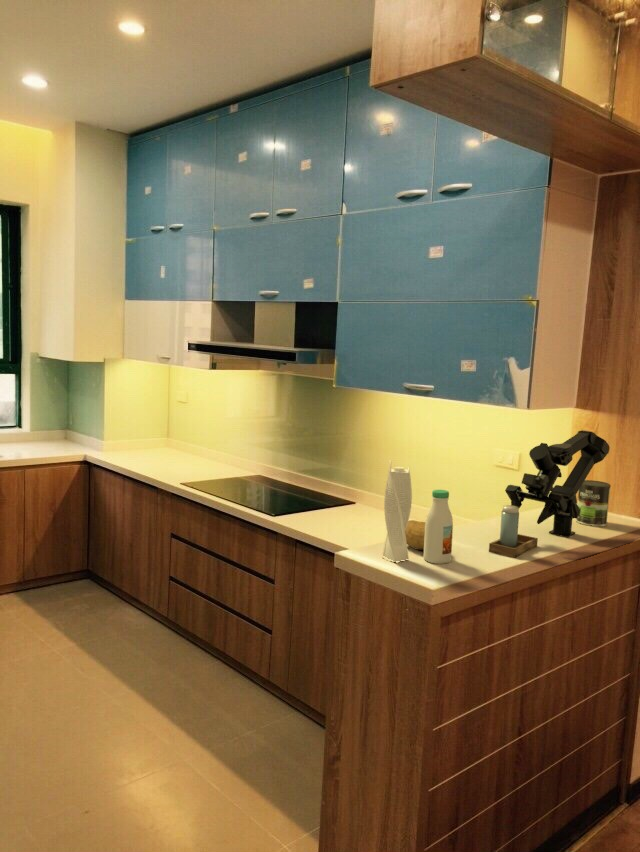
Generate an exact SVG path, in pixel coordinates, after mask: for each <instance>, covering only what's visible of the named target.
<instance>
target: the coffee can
mask: <svg viewBox="0 0 640 852" xmlns="http://www.w3.org/2000/svg"><path fill="white" fill-rule="evenodd" d="M611 487H612V486H611V484H610V483H608V482H604V481H599V480H589V479H587V480H586V479H585V480H584V482H583V484H582V485H581V487H580V489H579V490H578V492H577V494H578V496H577V505H578V507H579V509H580V513H579V517H578V518H575V522H576V521H577V522H576V523H578V524H580V523H581V524H580V525H583V524H585V525H584V526H588V525H592V526H591V527H605V526H607V525H608V515H609V513H608V512H609V503H610V494H611V493H610V492H611V491H610V490H611Z"/></svg>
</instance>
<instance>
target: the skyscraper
mask: <svg viewBox="0 0 640 852" xmlns="http://www.w3.org/2000/svg"><path fill="white" fill-rule="evenodd" d="M388 462H389V463H388V465H389V466H388V467H389V468H388V473H387V478H386V482H385V489H384V503H383V504H384V510H383V511H384V521H385V526H386V536H385V540H384V541H385V542H384V546H383V551H382V555H383V556H385V557H387V558H388V559H391V560H393V561H394V562H396V561H401V560H406V559H409V551H408V545H407V542H406V535H405V530H406V527H407V524H408V521H410V515H411V512H412V511H411V509H412V504H413V503H412V500H413V491H412V490H413V489H412V479H411V478H412V477H411V468H410V467H409V466H408V467H407V469H406V468H405V467H404V466H394V467H393V468H392V460H391V459H390V460H389V461H388ZM409 560H410V559H409Z"/></svg>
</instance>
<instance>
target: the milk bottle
mask: <svg viewBox="0 0 640 852" xmlns="http://www.w3.org/2000/svg"><path fill="white" fill-rule="evenodd" d="M431 494H432V495H431V496H432V497H431V499H432V503H431V505H430V508H429V509H428V512H427V514H426V516H425V517H426V518H425V521H424V522H425V537H424V550H423V559H425V560H426V562H427V561H428V563H431V564H436V565H437V564H439V565H443V564H449V563H450V562H451V560H452V547H453V532H454V531H453V528H454V525H453V524H454V523H453V522H454V521H453V515H452V512H451V509H450V506H449V501H448V500H449V499H450V498H449V497H450V492H449V491H448V490H446V489H433V490H432V493H431ZM425 560H424V561H425Z"/></svg>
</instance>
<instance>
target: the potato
mask: <svg viewBox="0 0 640 852" xmlns="http://www.w3.org/2000/svg"><path fill="white" fill-rule="evenodd" d="M425 522H426V521H419V520H414V519H413V520H412V519H411V520H410V519H409V521H408V524H407V527H406V530H405V535H406V542H407V546H409V547H411V548H413V549H415V548H416V550H422V551H424V537H425Z"/></svg>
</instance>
